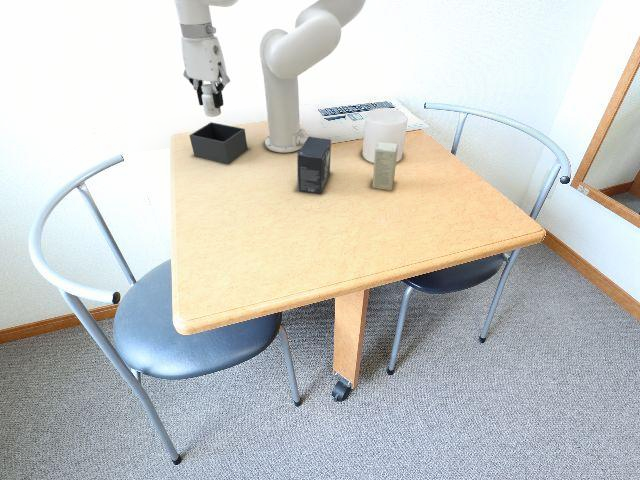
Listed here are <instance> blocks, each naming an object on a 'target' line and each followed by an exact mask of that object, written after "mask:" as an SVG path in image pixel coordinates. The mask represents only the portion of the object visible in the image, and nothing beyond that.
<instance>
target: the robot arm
mask: <svg viewBox="0 0 640 480" xmlns="http://www.w3.org/2000/svg"><path fill="white" fill-rule="evenodd" d="M238 1H239V0H174V3H175V8H176V13H177V17H178V22H179V27H180V32H181V54H182V59H183V64H184V71H183V77H184V78H185V79H186V80H187V81H189V83H190V84H191V86H192V87H193V89H194V91H196V96H197V100H198V105H199V106H201V107H202V106H203V101H202V94H203V92H202V88H201V86H202V85H204V84H205V83H204V82H209V84H211V86H212V88H213V91H214V93H213V94H212V95H213V100H214V106H215V108H219V107H220V108H221V107H223V106H224V97H223V91H224V89H225V88H226V86H227V85H229V83H231V79H230V77H229V75H227V74H228V73H227V68H226V62H225V58H224V54H223V50H222V47H221V44H220V41H219V38H218V36H215V34H216V33H217V28H216V27H215V26H213V22H212V15H211V9H210V6H212V7H220V8H228V7H232V6H234V5H236V4H237V2H238ZM366 1H367V0H317V1H316V2H314V3H312V4H311V5H310V6H308V7H306V8H305V9H303V10H302V11H301V12H300V13H299V14H298V15H297V17H296V20H295V24H294V29H293V30H292V31H290V32H288V31H286V30H284V29H280V28H273V29H270V30H268V31H266V32H265V34H264V35H263V36H262V38H261V40H260V44H259V58H260V63H261V64H260V65H261V69H262V76H263V84H264V94H265V105H266V114H267V124H268V126H267V127H268V134H269V135H268V136H267V137H266V139H265V140H264V145H265V148H266V149H268V150H269V151H272V152H276V153H282V154H283V153H284V154H286V153H293V152H297V151H300V149H301V148H302V146H303V145H304V143H305V142H306V140H307V138H308V137H312V136H311V135H308V134H305V133H304V129H303V128H301V123H300V122H301V121H300V120H301V119H300V100H299V99H300V97H299V94H300V93H299V78H298V77H299V76H300V75H302V74H304V73H305V72H306V71H308V70H309V69H311V68H312V67H313V66H315V65H317V64H318V63H320V62H321V61H322V60H324V59H325V58H327V57H329V55H331V54H332V53H333V52H334V51H335V50H336V48H337V47H338V45H339V43H340V42H341V38H342V28H344V27H345V26H347V25H348V24H349V23H350V22H352V21H353V20H354V19H355V18H356V17H357V16H358V15H360V13H361V11H362V10H363V8H364V6H365V4H366Z"/></svg>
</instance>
